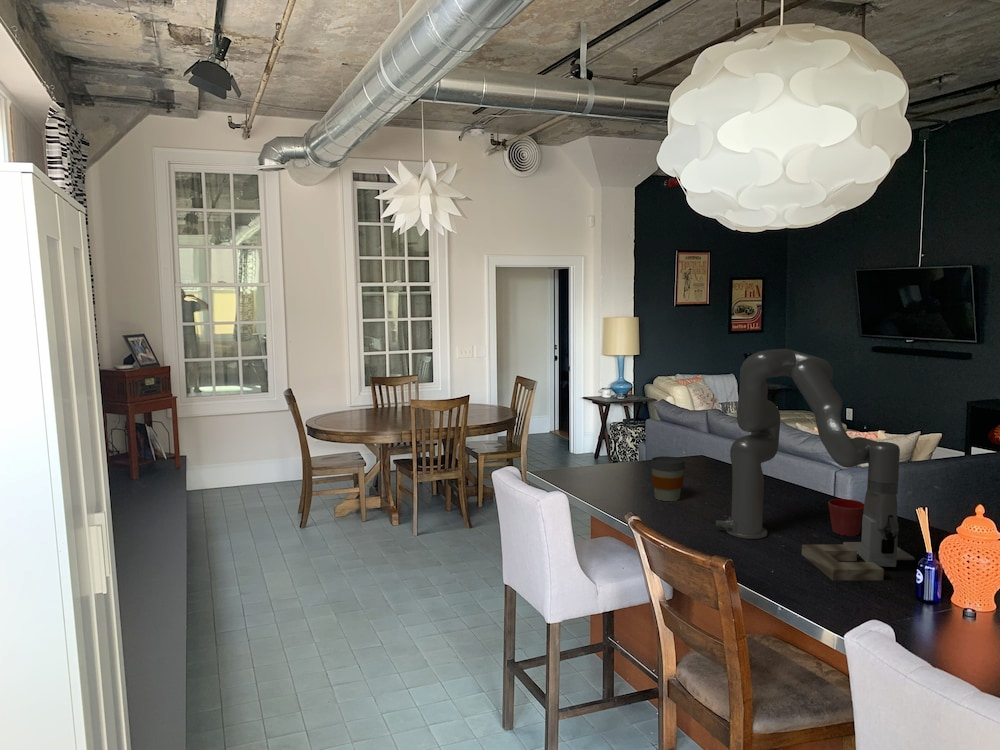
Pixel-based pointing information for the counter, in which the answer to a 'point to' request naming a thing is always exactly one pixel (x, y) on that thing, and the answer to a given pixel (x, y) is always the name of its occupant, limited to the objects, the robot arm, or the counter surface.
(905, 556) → the tile
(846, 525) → the flower pot
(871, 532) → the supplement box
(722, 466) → the counter surface
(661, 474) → the reusable coffee cup
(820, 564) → the box dock
